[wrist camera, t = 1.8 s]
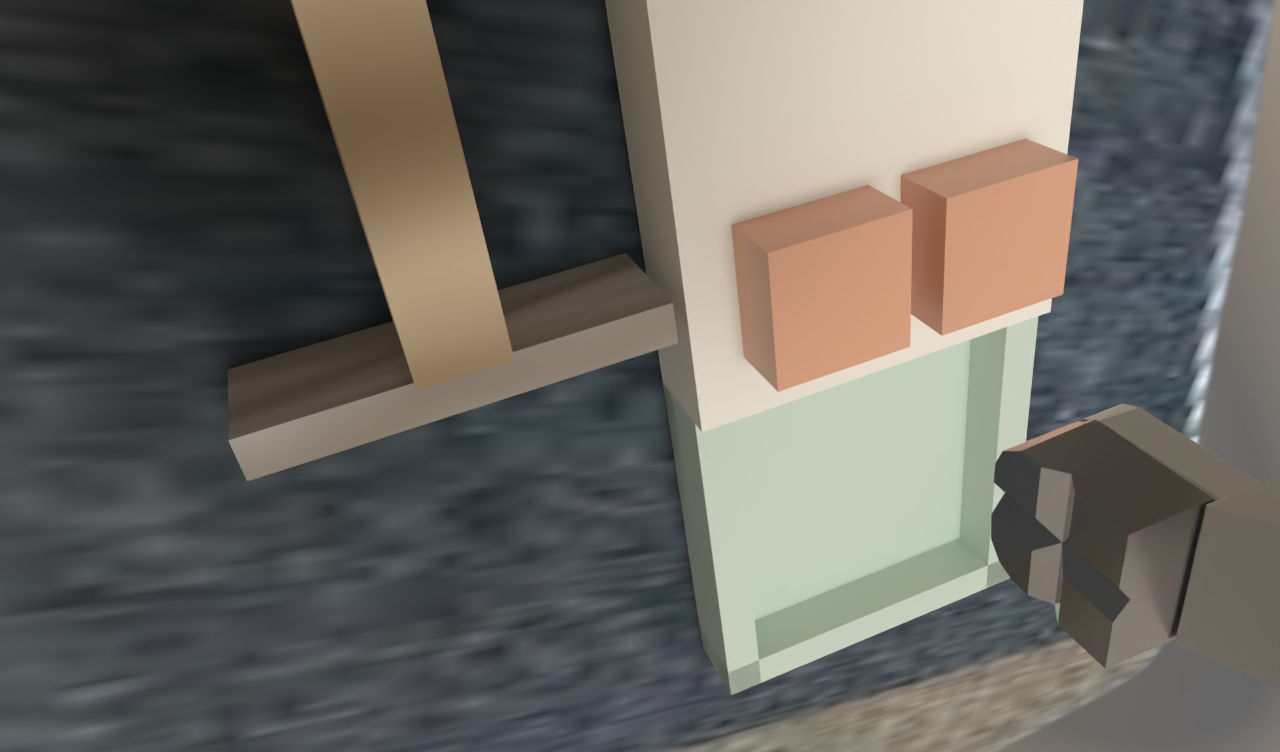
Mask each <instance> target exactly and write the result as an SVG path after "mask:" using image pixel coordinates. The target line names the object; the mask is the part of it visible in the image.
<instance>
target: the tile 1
mask: <svg viewBox="0 0 1280 752" xmlns="http://www.w3.org/2000/svg"><path fill="white" fill-rule="evenodd" d="M912 210H913V209H911V208H910V207H908V206H906V205H904V204H902V203H900V202H899V201H897V200H895V199H893V198H891V197H890V196H888V195H886V194H884V193H882V192H880V191H879V190H877V189H875V188H873V187H871V186H870V185H866V186H862V187H859V188H855V189H852V190H849V191H845V192H842V193H838V194H835V195H832V196H828V197H825V198H821V199H818V200H814V201H811V202H808V203H804V204H801V205H797V206H794V207H791V208H787V209H784V210H780V211H777V212H774V213H770V214H767V215H763V216H760V217H757V218H753V219H750V220H746V221H743V222H740V223H736V224H733V225H731V226H732V237H733V247H734V258H735V269H736V279H737V290H738V300H739V311H740V322H741V332H742V343H743V353H744V358H745V359H746V360H747V361H748V362H749V363H750V364H751V365H752V366H753V367H754V368H755V369H756V370H757V371H758V372H759V373H760V374H761V375H762V376H763V377H764V378H765V379H766V380H767V381H768V382H769V383H770V384H771V385H772V386H773V387H774V389H775V390H776V391H777V392H779V391H782V390H785V389H788V388H791V387H794V386H797V385H800V384H803V383H806V382H809V381H811V380H814V379H817V378H820V377H823V376H826V375H829V374H832V373H835V372H838V371H841V370H844V369H846V368H849V367H852V366H855V365H858V364H861V363H864V362H867V361H870V360H873V359H876V358H879V357H882V356H884V355H887V354H890V353H893V352H896V351H899V350H902V349H905V348H908V347H910V333H911V271H912Z"/></svg>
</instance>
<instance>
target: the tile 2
mask: <svg viewBox="0 0 1280 752" xmlns="http://www.w3.org/2000/svg"><path fill="white" fill-rule="evenodd" d="M1077 166H1078V158H1075V157H1073V156H1070V155H1067V154H1065V153H1062V152H1059V151H1057V150H1054V149H1052V148H1049V147H1046V146H1044V145H1041V144H1039V143H1036V142H1033V141H1031V140H1028V139H1022V140H1019V141H1015V142H1012V143H1009V144H1005V145H1002V146H998V147H995V148H992V149H988V150H985V151H981V152H978V153H975V154H971V155H968V156H964V157H961V158H958V159H954V160H951V161H947V162H944V163H941V164H937V165H934V166H930V167H927V168H924V169H920V170H917V171H913V172H910V173H906V174H903V175H901V203H902V204H904V205H906V206H908V207H910V208H911V209H913V210H912V271H911V314H912V315H913V316H914V317H916V318H917V319H919V320H920V321H922V322H923V323H924V324H926V325H927V326H929V327H930V328H931V329H933V330H934V331H936V332H937V333H939V334H940V335H941V336H943V335H946V334H949V333H952V332H954V331H957V330H960V329H963V328H966V327H969V326H972V325H975V324H978V323H981V322H984V321H987V320H990V319H992V318H995V317H998V316H1001V315H1004V314H1007V313H1010V312H1013V311H1016V310H1019V309H1022V308H1025V307H1027V306H1030V305H1033V304H1036V303H1039V302H1042V301H1045V300H1048V299H1051V298H1054V297H1057V296H1060V295H1062V294H1063V289H1064V280H1065V271H1066V263H1067V254H1068V245H1069V236H1070V227H1071V219H1072V210H1073V201H1074V192H1075V183H1076V174H1077Z"/></svg>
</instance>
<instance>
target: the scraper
mask: <svg viewBox="0 0 1280 752" xmlns="http://www.w3.org/2000/svg"><path fill="white" fill-rule="evenodd" d="M290 2H291V6H292V9H293V12H294V15H295V18H296V21H297V24H298V27H299V31H300V34H301V37H302V40H303V43H304V46H305V49H306V52H307V55H308V59H309V62H310V65H311V68H312V71H313V74H314V77H315V80H316V84H317V87H318V90H319V93H320V96H321V99H322V102H323V105H324V108H325V112H326V115H327V118H328V121H329V124H330V127H331V130H332V133H333V137H334V140H335V143H336V146H337V149H338V152H339V155H340V158H341V161H342V165H343V168H344V171H345V174H346V177H347V180H348V183H349V186H350V190H351V193H352V196H353V199H354V202H355V205H356V208H357V211H358V215H359V218H360V221H361V224H362V227H363V230H364V233H365V236H366V239H367V243H368V246H369V249H370V252H371V255H372V258H373V261H374V264H375V268H376V271H377V274H378V277H379V280H380V283H381V286H382V289H383V292H384V296H385V299H386V302H387V305H388V308H389V311H390V314H391V317H392V322H388V323H385V324H381V325H378V326H374V327H371V328H368V329H364V330H361V331H357V332H354V333H351V334H347V335H344V336H340V337H337V338H334V339H330V340H327V341H323V342H320V343H316V344H313V345H310V346H306V347H303V348H299V349H296V350H293V351H289V352H286V353H282V354H279V355H275V356H272V357H269V358H265V359H262V360H258V361H255V362H252V363H248V364H245V365H241V366H238V367H234V368H231V369H228V441H229V443H230V445H231V447H232V450H233V452H234V454H235V456H236V458H237V460H238V462H239V465H240V467H241V469H242V471H243V473H244V475H245V478H246V480H247V481H250V480H253V479H256V478H259V477H262V476H266V475H269V474H272V473H275V472H278V471H281V470H284V469H287V468H290V467H294V466H297V465H300V464H303V463H306V462H309V461H312V460H315V459H319V458H322V457H325V456H328V455H331V454H334V453H337V452H340V451H343V450H347V449H350V448H353V447H356V446H359V445H362V444H365V443H368V442H371V441H375V440H378V439H381V438H384V437H387V436H390V435H393V434H396V433H400V432H403V431H406V430H409V429H412V428H415V427H418V426H421V425H424V424H428V423H431V422H434V421H437V420H440V419H443V418H446V417H449V416H452V415H456V414H459V413H462V412H465V411H468V410H471V409H474V408H477V407H481V406H484V405H487V404H490V403H493V402H496V401H499V400H502V399H505V398H509V397H512V396H515V395H518V394H521V393H524V392H527V391H530V390H533V389H537V388H540V387H543V386H546V385H549V384H552V383H555V382H558V381H562V380H565V379H568V378H571V377H574V376H577V375H580V374H583V373H586V372H590V371H593V370H596V369H599V368H602V367H605V366H608V365H611V364H615V363H618V362H621V361H624V360H627V359H630V358H633V357H636V356H639V355H643V354H646V353H649V352H652V351H655V350H658V349H661V348H664V347H667V346H671V345H674V344H677V343H678V337H677V330H676V322H675V315H674V308H673V302H672V301H671V300H670V299H669V298H668V297H667V296H666V295H665V294H664V293H663V292H662V291H661V290H660V289H659V288H658V287H657V286H656V285H655V283H654V282H653V281H652V280H651V279H650V278H649V277H648V276H647V275H646V274H645V273H644V272H643V271H642V270H641V269H640V268H639V267H638V266H637V265H636V264H635V262H634V261H633V260H632V259H631V258H630V257H629V256H628V255H627V254H626V253H624V254H620V255H617V256H614V257H610V258H607V259H603V260H600V261H597V262H593V263H590V264H586V265H583V266H579V267H576V268H573V269H569V270H566V271H562V272H559V273H556V274H552V275H549V276H545V277H542V278H538V279H535V280H532V281H528V282H525V283H521V284H518V285H515V286H511V287H508V288H504V289H501V290H497V287H496V283H495V279H494V275H493V271H492V266H491V262H490V258H489V254H488V250H487V246H486V242H485V238H484V234H483V230H482V226H481V222H480V218H479V214H478V210H477V206H476V202H475V198H474V194H473V190H472V186H471V182H470V178H469V174H468V170H467V165H466V161H465V157H464V153H463V149H462V145H461V141H460V137H459V133H458V129H457V125H456V121H455V117H454V113H453V109H452V105H451V101H450V97H449V93H448V89H447V85H446V81H445V77H444V73H443V69H442V64H441V60H440V56H439V52H438V48H437V44H436V40H435V36H434V32H433V28H432V24H431V20H430V16H429V12H428V8H427V4H426V0H290Z"/></svg>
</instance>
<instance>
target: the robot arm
mask: <svg viewBox="0 0 1280 752" xmlns="http://www.w3.org/2000/svg"><path fill="white" fill-rule="evenodd" d="M994 483H995V484H996V485H997V486H998V487H999V488H1000V489H1001V490H1002V491H1003V492H1004V495H1003V496H1002V498H1001V500H1000V501H999V503H998V504H997V506H996V508H995V509H994V511H993V512H992V514H991V540H992V543H993V546H994V548H995V551H996V554H997V557H998V559H999V562H1000V564H1001V565H1002V566H1003V568H1004V569H1005V571H1006V572H1007V574H1008V575H1009V577H1010V578H1011V579H1012V580H1013V581H1014V582H1015V583H1016V584H1017V585H1018V586H1019V587H1020V588H1021V589H1022V590H1023V591H1024V592H1025V593H1026V594H1027V595H1028V596H1031V597H1034V598H1037V599H1041V600H1044V601H1047V602H1050V603H1053V604H1055V608H1056V615H1057V622H1058V625H1059V626H1061V627H1062V628H1063V629H1064V630H1065V631H1066V632H1067V633H1068V634H1069V635H1070V636H1071V637H1072V638H1073V639H1074V640H1075V641H1076V642H1078V643H1079V644H1080V645H1081V646H1082V647H1083V648H1084V649H1085V650H1086V651H1087V652H1088V653H1089V654H1090V655H1091V656H1092V657H1094V658H1095V659H1096V660H1097V661H1098V662H1099V663H1100V664H1101V665H1102V666H1103V667H1104V668H1108V667H1110V666H1112V665H1115V664H1117V663H1119V662H1122V661H1124V660H1126V659H1129V658H1131V657H1133V656H1136V655H1138V654H1141V653H1143V652H1145V651H1148V650H1150V649H1152V648H1155V647H1157V646H1159V645H1162V644H1164V643H1166V642H1169V641H1171V640H1173V639H1176V640H1175V644H1177V645H1179V646H1182V647H1184V648H1187V649H1189V650H1191V651H1193V652H1196V653H1198V654H1201V655H1203V656H1205V657H1208V658H1210V659H1212V660H1215V661H1217V662H1220V663H1222V664H1224V665H1226V666H1229V667H1231V668H1234V669H1236V670H1238V671H1241V672H1243V673H1246V674H1248V675H1250V676H1253V677H1255V678H1257V679H1260V680H1262V681H1264V682H1267V683H1269V684H1272V685H1274V686H1276V687H1278V688H1280V479H1275V478H1269V479H1267V480H1264V481H1261V482H1258V481H1256V480H1255V479H1253V478H1252V477H1250V476H1248V475H1247V474H1245V473H1244V472H1242V471H1240V470H1239V469H1237V468H1236V467H1234V466H1232V465H1231V464H1229V463H1227V462H1226V461H1224V460H1222V459H1221V458H1219V457H1218V456H1216V455H1215V454H1213V453H1211V452H1210V451H1208V450H1207V449H1205V448H1203V447H1202V446H1200V445H1199V444H1197V443H1195V442H1194V441H1192V440H1191V439H1189V438H1187V437H1186V436H1184V435H1182V434H1181V433H1179V432H1178V431H1176V430H1174V429H1173V428H1171V427H1170V426H1168V425H1166V424H1165V423H1163V422H1162V421H1160V420H1158V419H1157V418H1155V417H1153V416H1152V415H1150V414H1149V413H1147V412H1145V411H1144V410H1142V409H1141V408H1139V407H1136V406H1131V405H1126V404H1120V405H1118V406H1115V407H1112V408H1110V409H1107V410H1105V411H1102V412H1100V413H1097V414H1095V415H1092V416H1090V417H1087V418H1085V419H1083V420H1081V421H1080V422H1074V423H1072V424H1069V425H1067V426H1064V427H1062V428H1059V429H1057V430H1054V431H1052V432H1049V433H1047V434H1044V435H1042V436H1039V437H1037V438H1034V439H1032V440H1029V441H1027V442H1024V443H1022V444H1019V445H1017V446H1014V447H1012V448H1009V449H1007V450H1004V451H1002V453H1001V455H1000V456H999V458H998V460H997V461H996V463H995V473H994Z"/></svg>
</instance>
